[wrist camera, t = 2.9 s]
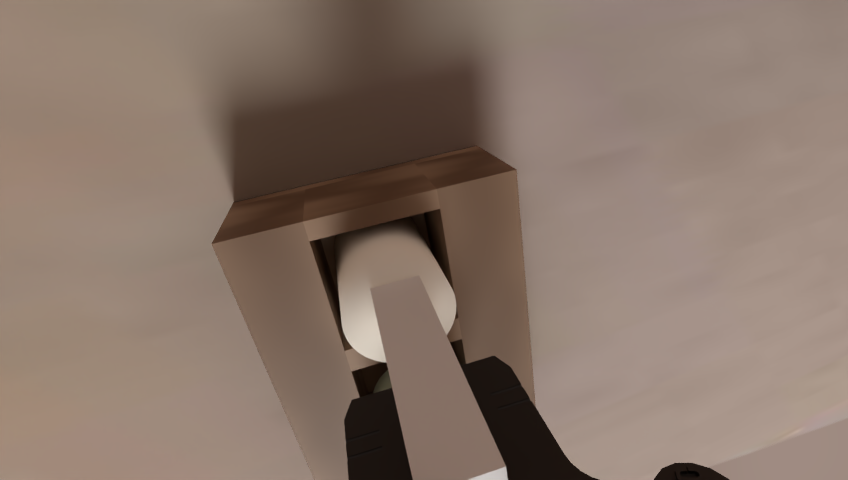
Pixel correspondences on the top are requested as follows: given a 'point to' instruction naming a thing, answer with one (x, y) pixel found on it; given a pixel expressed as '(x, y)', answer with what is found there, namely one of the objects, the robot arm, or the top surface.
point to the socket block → (318, 287)
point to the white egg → (384, 278)
